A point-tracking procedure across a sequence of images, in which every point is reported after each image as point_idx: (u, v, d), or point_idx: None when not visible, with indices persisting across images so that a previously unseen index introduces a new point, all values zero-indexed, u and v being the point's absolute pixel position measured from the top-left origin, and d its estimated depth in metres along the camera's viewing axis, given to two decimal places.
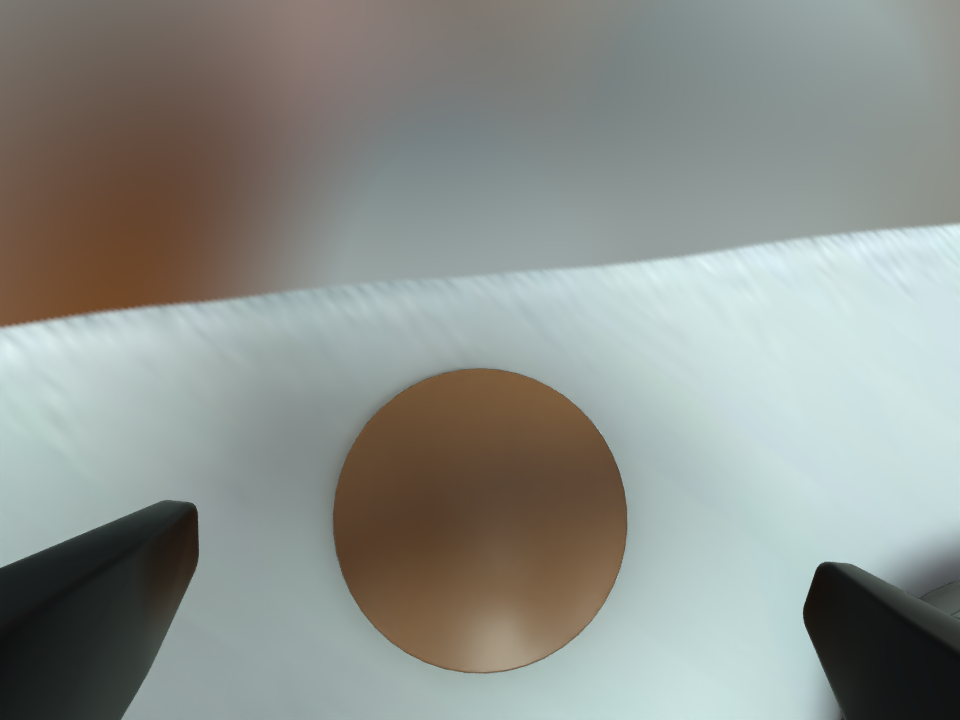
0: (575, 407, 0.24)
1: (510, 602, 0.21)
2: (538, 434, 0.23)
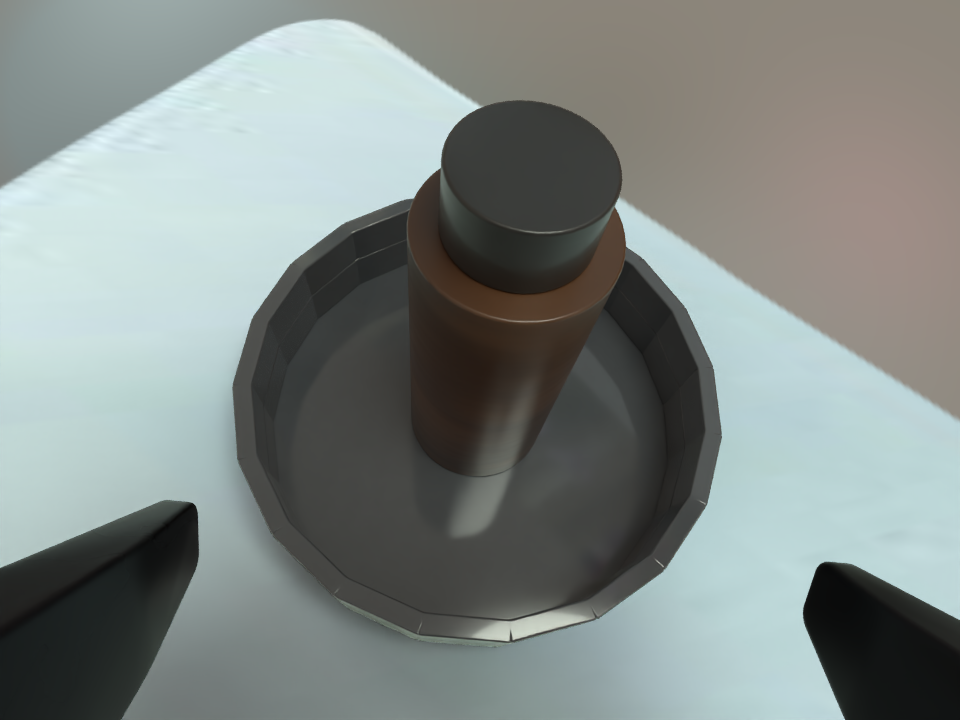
0: None
1: None
2: None
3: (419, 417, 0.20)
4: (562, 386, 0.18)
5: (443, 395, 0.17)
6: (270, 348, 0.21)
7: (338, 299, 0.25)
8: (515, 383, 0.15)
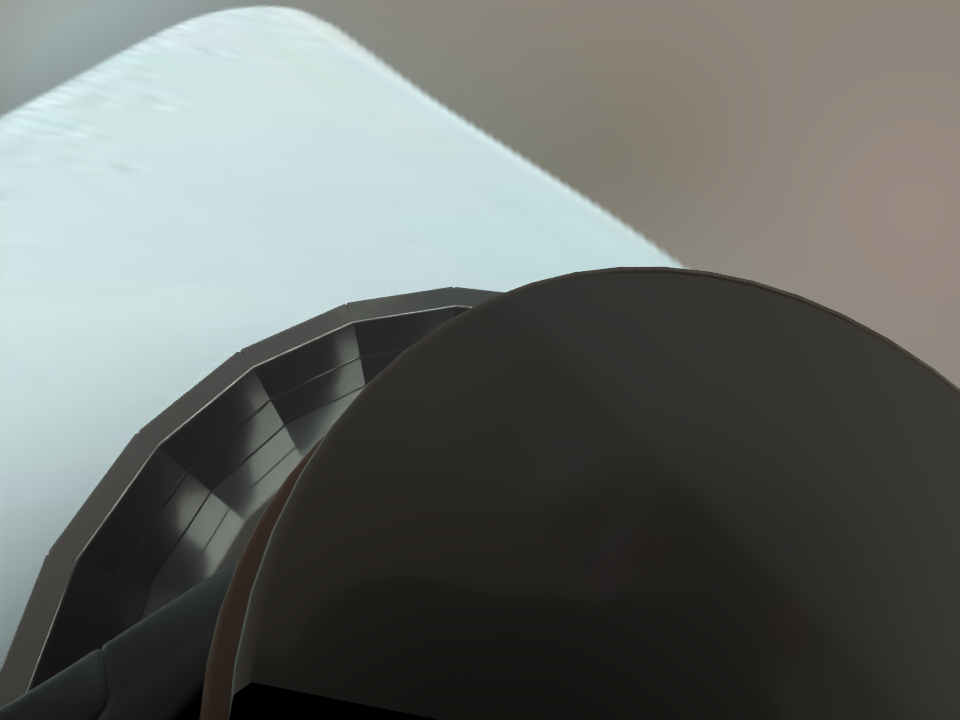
0: None
1: None
2: None
3: None
4: None
5: None
6: (90, 600, 0.11)
7: (245, 455, 0.15)
8: None
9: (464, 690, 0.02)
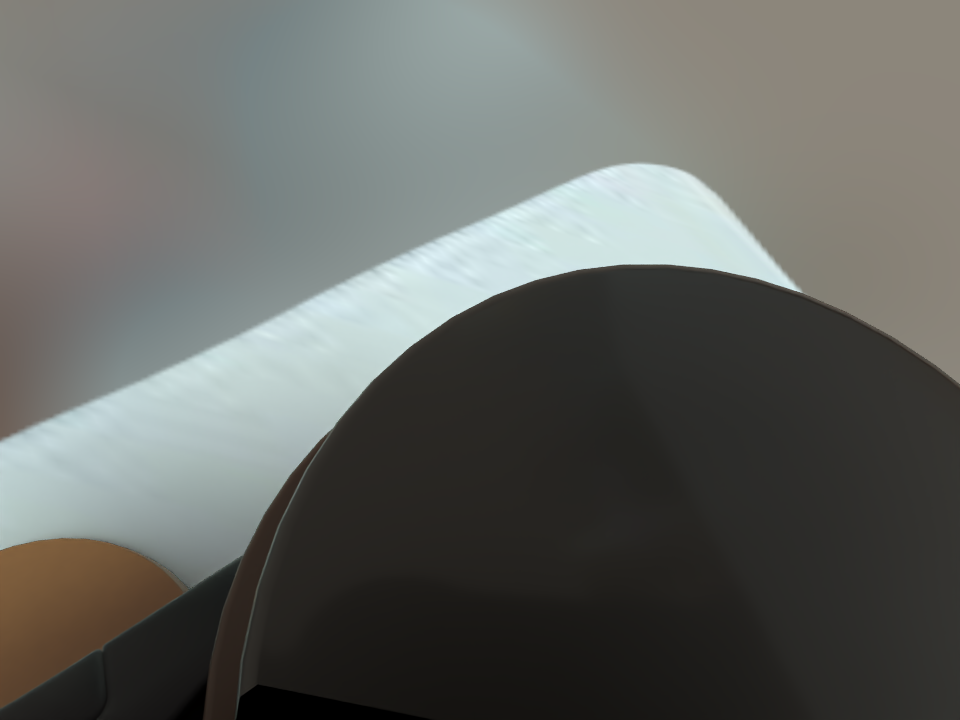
0: (120, 549, 0.20)
1: None
2: (77, 603, 0.19)
3: None
4: None
5: None
6: None
7: None
8: None
9: (470, 684, 0.02)
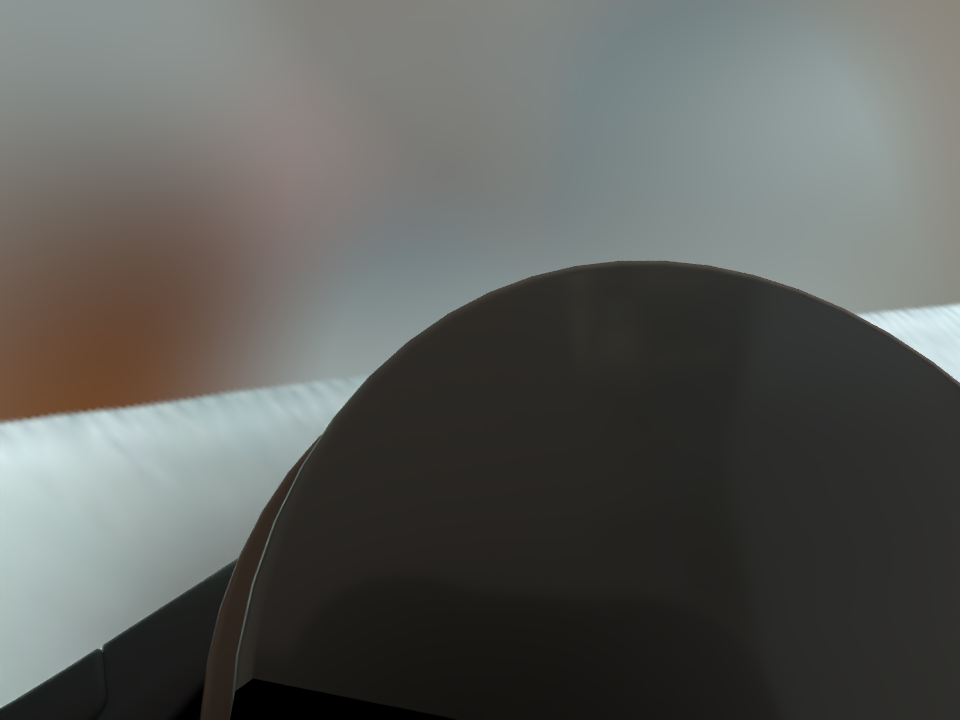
0: None
1: None
2: None
3: None
4: None
5: None
6: None
7: None
8: None
9: (465, 679, 0.02)
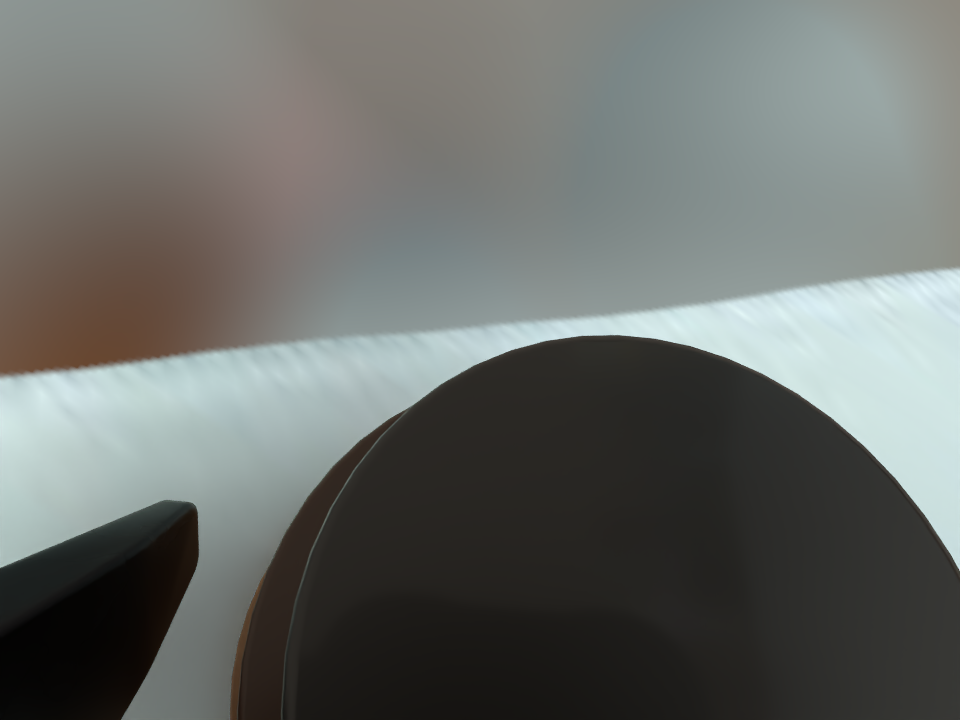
0: None
1: None
2: None
3: None
4: None
5: None
6: None
7: None
8: None
9: (456, 672, 0.03)
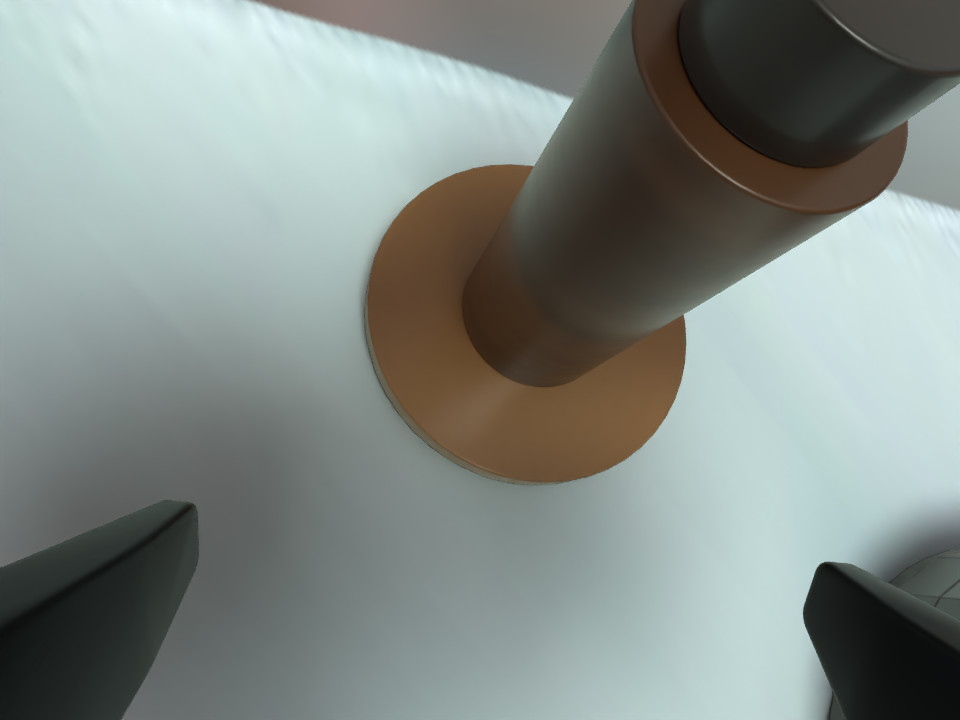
0: None
1: (544, 411, 0.19)
2: None
3: (486, 292, 0.16)
4: None
5: (551, 270, 0.13)
6: None
7: None
8: (664, 284, 0.11)
9: None
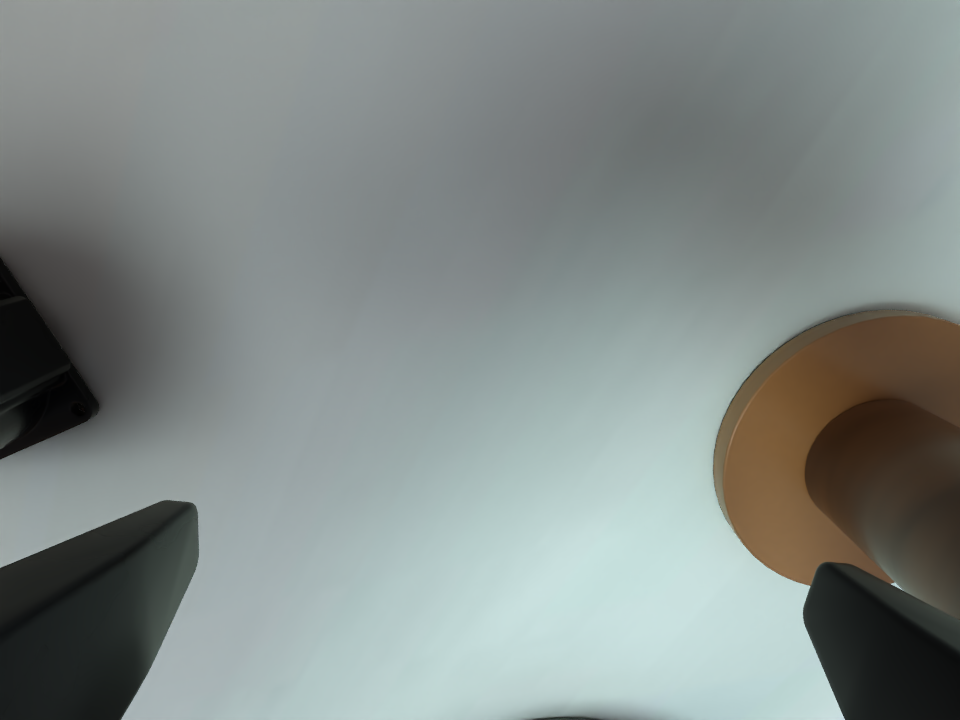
0: None
1: (783, 488, 0.22)
2: None
3: (903, 439, 0.18)
4: None
5: None
6: None
7: None
8: None
9: None
